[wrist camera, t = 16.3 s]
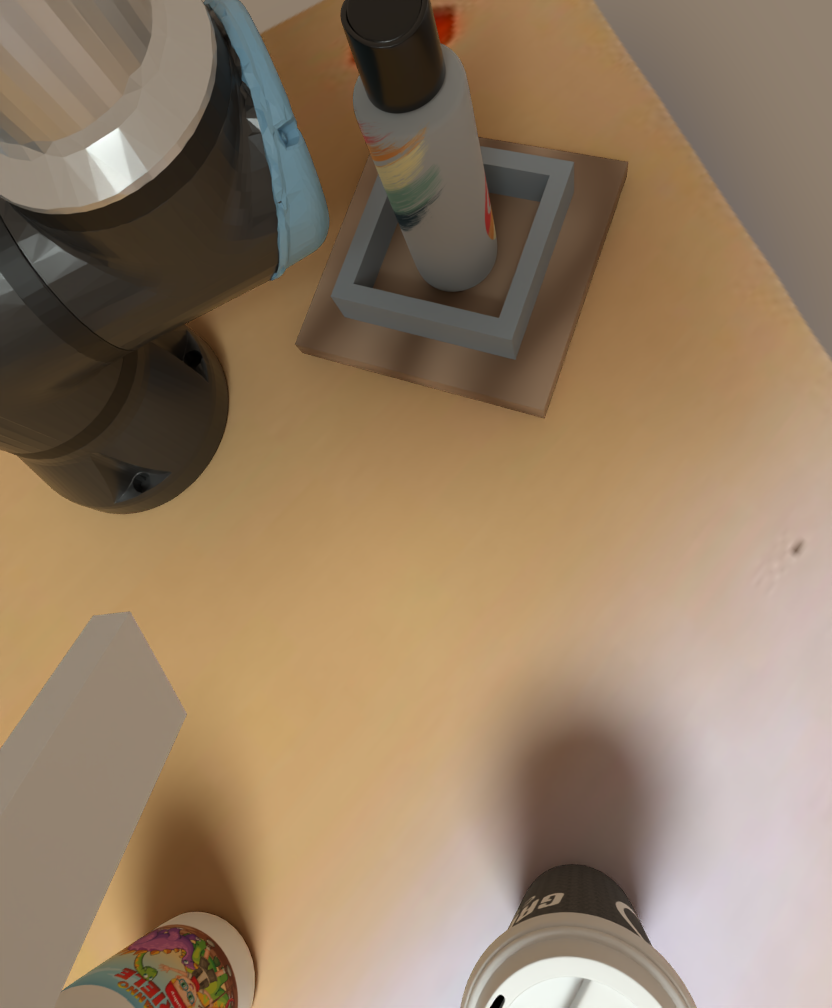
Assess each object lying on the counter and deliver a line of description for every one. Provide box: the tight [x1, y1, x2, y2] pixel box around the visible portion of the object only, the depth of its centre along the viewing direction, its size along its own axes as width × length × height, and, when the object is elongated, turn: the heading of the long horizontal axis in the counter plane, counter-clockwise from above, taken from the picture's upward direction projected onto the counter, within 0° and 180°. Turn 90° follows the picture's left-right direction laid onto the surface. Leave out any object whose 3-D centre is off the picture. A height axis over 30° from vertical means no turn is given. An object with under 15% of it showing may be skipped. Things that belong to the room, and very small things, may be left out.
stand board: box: [295, 137, 628, 418], centre depth 49 cm, size 18×18×2 cm
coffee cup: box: [461, 865, 697, 1008], centre depth 33 cm, size 10×10×15 cm
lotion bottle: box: [341, 0, 497, 292], centre depth 39 cm, size 6×6×20 cm
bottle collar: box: [331, 146, 574, 360], centre depth 47 cm, size 12×12×3 cm
